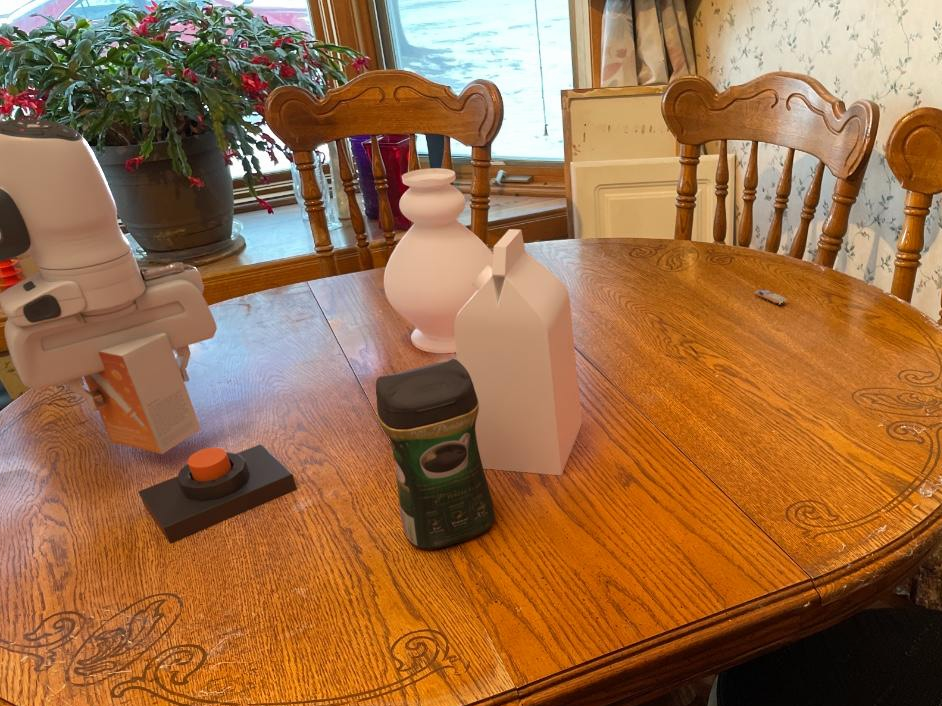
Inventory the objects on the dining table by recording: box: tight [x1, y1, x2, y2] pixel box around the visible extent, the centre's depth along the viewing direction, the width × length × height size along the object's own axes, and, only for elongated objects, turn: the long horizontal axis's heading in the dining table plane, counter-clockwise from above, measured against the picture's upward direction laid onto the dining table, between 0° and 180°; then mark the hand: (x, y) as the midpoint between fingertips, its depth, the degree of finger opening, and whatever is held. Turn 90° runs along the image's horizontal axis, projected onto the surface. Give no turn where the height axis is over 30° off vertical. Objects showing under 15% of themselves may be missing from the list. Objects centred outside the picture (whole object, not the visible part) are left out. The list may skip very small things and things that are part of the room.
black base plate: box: [138, 443, 297, 544], centre depth 88 cm, size 14×9×4 cm, turn 132°
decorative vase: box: [383, 167, 493, 354], centre depth 117 cm, size 18×18×25 cm
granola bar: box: [753, 288, 788, 305], centre depth 133 cm, size 7×2×1 cm, turn 33°
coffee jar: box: [375, 358, 496, 551], centre depth 78 cm, size 10×8×19 cm
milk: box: [454, 228, 583, 477], centre depth 89 cm, size 12×12×26 cm
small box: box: [83, 333, 201, 455], centre depth 91 cm, size 8×6×13 cm
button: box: [187, 447, 231, 482], centre depth 86 cm, size 4×4×2 cm
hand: (140, 394), depth 91 cm, fingers closed on small box, 8 cm apart
